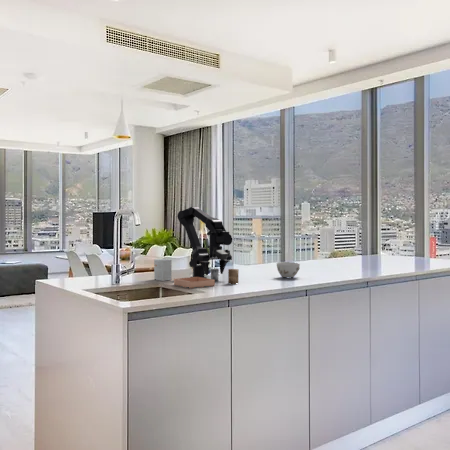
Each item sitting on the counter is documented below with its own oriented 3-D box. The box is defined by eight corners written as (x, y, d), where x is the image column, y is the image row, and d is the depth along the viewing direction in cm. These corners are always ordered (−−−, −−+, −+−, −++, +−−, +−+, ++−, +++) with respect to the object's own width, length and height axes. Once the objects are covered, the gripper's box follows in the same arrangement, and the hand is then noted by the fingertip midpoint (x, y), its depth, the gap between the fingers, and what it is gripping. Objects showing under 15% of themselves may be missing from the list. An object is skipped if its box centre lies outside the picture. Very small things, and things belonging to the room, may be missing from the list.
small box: (171, 280, 267) (171, 259, 266) (162, 281, 263) (162, 260, 263) (162, 278, 273) (163, 258, 272) (153, 279, 269) (154, 259, 269)
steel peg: (209, 280, 266) (209, 269, 266) (215, 280, 269) (215, 268, 269) (213, 281, 263) (213, 269, 263) (219, 281, 266) (220, 269, 265)
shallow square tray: (174, 284, 250) (174, 278, 250) (198, 282, 258) (198, 276, 258) (190, 288, 239) (190, 282, 239) (214, 286, 247) (214, 279, 247)
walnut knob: (226, 283, 257) (226, 269, 257) (234, 282, 260) (234, 268, 260) (232, 284, 253) (232, 270, 253) (240, 283, 256) (240, 269, 256)
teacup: (287, 279, 273) (287, 264, 272) (271, 277, 283) (271, 262, 282) (307, 277, 281) (307, 263, 281) (291, 275, 292) (291, 261, 291)
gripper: (209, 245, 253) (208, 277, 254) (238, 244, 265) (238, 274, 265) (196, 244, 262) (196, 275, 263) (225, 243, 274) (225, 272, 274)
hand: (214, 274), depth 266 cm, fingers open, 9 cm apart
